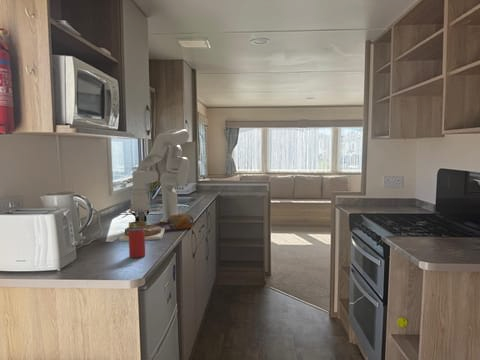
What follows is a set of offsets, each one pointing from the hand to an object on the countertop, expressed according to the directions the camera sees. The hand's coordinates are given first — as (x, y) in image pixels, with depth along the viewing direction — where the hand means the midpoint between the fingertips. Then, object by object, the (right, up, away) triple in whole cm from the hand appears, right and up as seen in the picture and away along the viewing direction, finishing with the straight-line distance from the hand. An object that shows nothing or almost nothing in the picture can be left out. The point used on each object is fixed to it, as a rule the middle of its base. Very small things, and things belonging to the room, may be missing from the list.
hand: (141, 222), depth 208 cm
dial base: (+6, -5, -16) cm, 18 cm away
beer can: (+14, -8, -55) cm, 58 cm away
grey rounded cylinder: (0, -4, 0) cm, 4 cm away
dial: (+6, -3, -16) cm, 18 cm away
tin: (+23, -4, +1) cm, 23 cm away
